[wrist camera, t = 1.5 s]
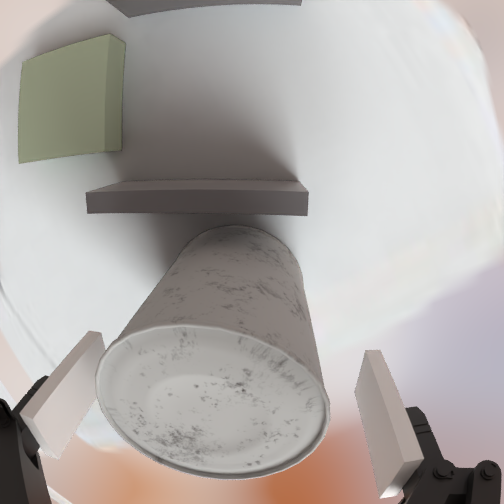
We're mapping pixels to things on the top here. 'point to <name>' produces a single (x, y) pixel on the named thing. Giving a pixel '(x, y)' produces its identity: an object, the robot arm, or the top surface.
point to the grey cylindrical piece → (220, 363)
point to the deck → (72, 100)
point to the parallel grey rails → (197, 190)
